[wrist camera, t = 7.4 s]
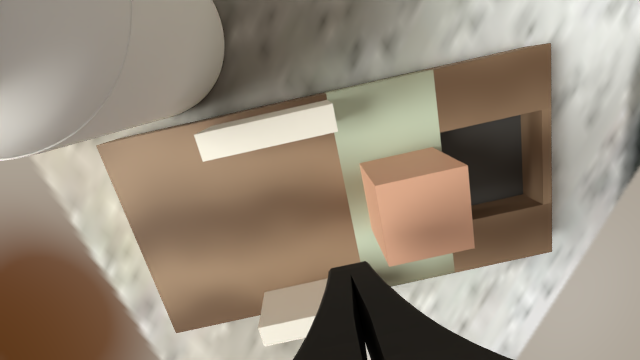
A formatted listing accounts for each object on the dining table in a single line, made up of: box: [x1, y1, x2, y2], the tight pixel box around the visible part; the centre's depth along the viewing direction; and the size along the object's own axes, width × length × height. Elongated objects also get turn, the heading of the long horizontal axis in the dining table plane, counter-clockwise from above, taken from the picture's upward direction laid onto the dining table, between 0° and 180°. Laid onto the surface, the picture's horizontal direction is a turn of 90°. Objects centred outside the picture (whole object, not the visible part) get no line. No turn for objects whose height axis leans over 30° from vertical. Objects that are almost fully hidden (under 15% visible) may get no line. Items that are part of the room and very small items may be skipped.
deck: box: [97, 43, 552, 333], centre depth 19 cm, size 12×24×2 cm, turn 102°
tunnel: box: [194, 100, 338, 347], centre depth 17 cm, size 11×6×3 cm, turn 12°
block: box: [359, 147, 475, 267], centre depth 16 cm, size 4×4×4 cm
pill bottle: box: [0, 0, 224, 161], centre depth 10 cm, size 8×8×15 cm
